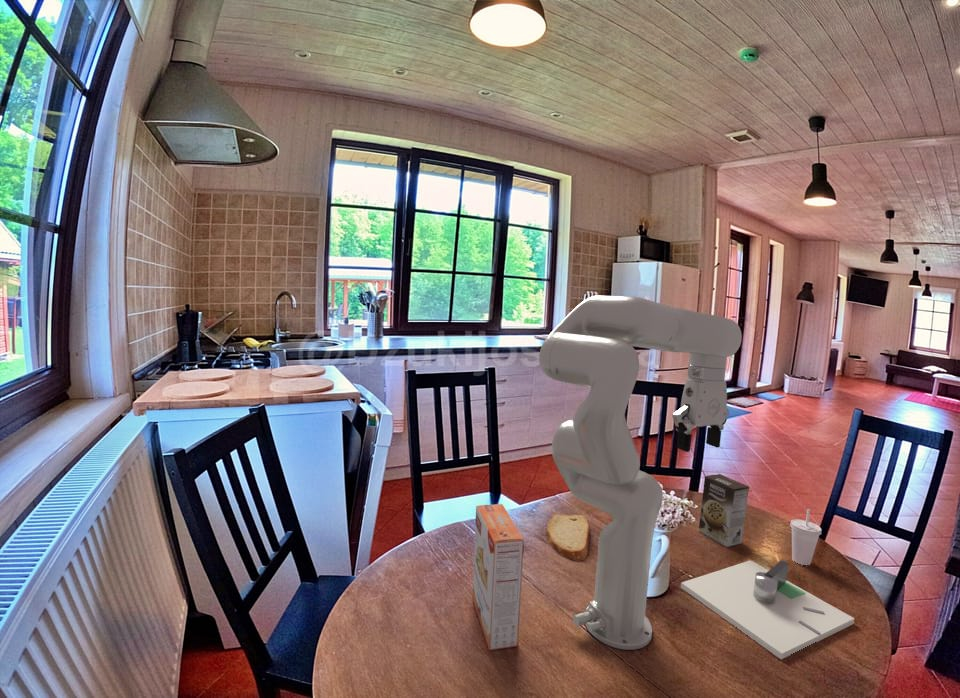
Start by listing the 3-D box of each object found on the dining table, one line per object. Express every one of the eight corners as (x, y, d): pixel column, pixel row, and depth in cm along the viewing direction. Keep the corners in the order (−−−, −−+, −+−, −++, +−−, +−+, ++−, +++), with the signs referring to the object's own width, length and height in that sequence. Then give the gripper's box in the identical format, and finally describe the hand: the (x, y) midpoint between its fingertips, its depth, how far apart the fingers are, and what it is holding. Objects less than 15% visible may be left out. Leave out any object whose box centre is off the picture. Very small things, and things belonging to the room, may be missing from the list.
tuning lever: (770, 606, 95) (773, 586, 94) (750, 595, 98) (752, 576, 98) (792, 584, 103) (795, 565, 102) (772, 575, 106) (775, 557, 105)
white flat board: (781, 659, 83) (782, 652, 83) (680, 587, 102) (681, 581, 102) (853, 623, 93) (854, 617, 93) (749, 564, 113) (750, 559, 113)
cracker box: (470, 600, 95) (475, 503, 92) (498, 597, 96) (503, 502, 94) (486, 652, 81) (492, 540, 79) (519, 648, 83) (526, 538, 80)
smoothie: (787, 564, 114) (794, 510, 113) (784, 551, 120) (791, 500, 118) (818, 572, 111) (826, 517, 110) (814, 559, 117) (821, 507, 115)
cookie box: (697, 531, 129) (703, 475, 127) (713, 527, 131) (719, 472, 129) (726, 547, 120) (733, 488, 119) (743, 543, 123) (750, 485, 121)
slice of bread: (575, 565, 110) (576, 550, 109) (523, 532, 124) (524, 519, 124) (620, 543, 121) (622, 530, 120) (568, 515, 135) (569, 503, 134)
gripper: (693, 378, 96) (685, 457, 98) (746, 375, 104) (738, 449, 106) (664, 372, 103) (657, 446, 105) (717, 370, 110) (709, 439, 112)
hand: (698, 447), depth 105 cm, fingers open, 9 cm apart
